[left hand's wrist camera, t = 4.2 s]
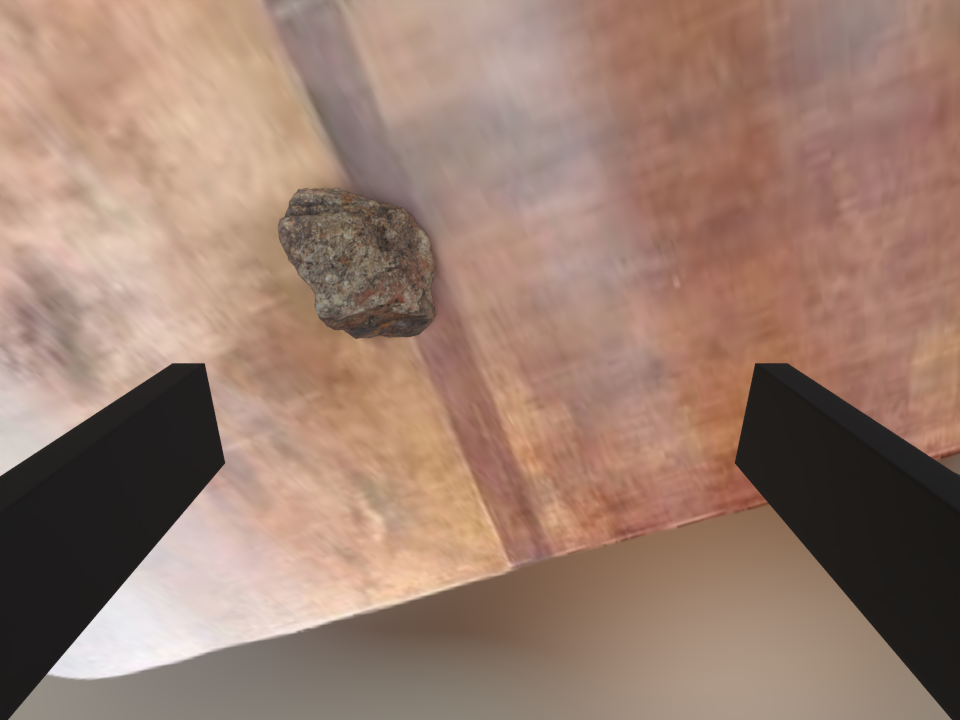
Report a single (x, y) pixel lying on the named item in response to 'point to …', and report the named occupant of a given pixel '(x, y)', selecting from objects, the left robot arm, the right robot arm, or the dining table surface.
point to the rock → (360, 262)
